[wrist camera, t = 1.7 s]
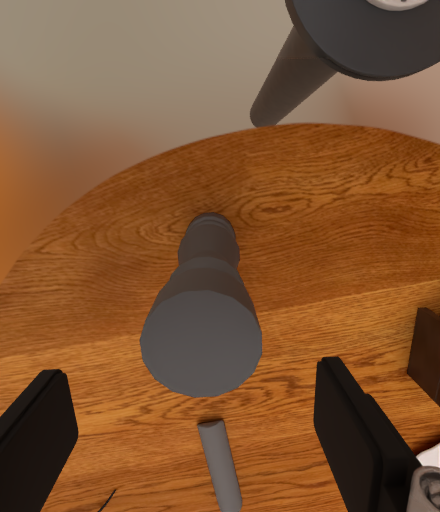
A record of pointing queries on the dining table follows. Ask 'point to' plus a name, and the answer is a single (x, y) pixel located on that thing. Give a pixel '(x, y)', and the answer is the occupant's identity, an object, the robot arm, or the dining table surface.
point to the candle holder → (203, 317)
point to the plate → (430, 456)
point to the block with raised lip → (426, 353)
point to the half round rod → (221, 465)
